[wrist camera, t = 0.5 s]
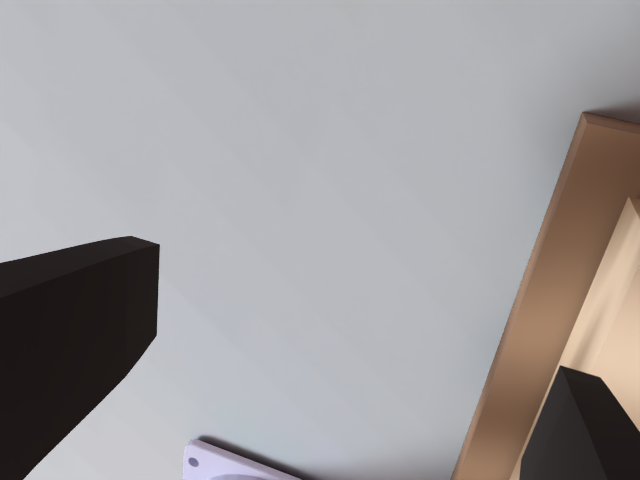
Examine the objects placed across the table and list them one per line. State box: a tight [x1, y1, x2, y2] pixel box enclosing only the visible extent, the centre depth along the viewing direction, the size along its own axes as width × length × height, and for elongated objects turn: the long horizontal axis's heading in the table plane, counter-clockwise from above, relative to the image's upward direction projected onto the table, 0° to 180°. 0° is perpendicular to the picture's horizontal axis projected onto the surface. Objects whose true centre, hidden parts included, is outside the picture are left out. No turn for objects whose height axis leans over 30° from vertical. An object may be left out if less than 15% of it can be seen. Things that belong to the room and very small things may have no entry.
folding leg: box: [509, 197, 640, 480], centre depth 16 cm, size 14×3×4 cm, turn 171°
